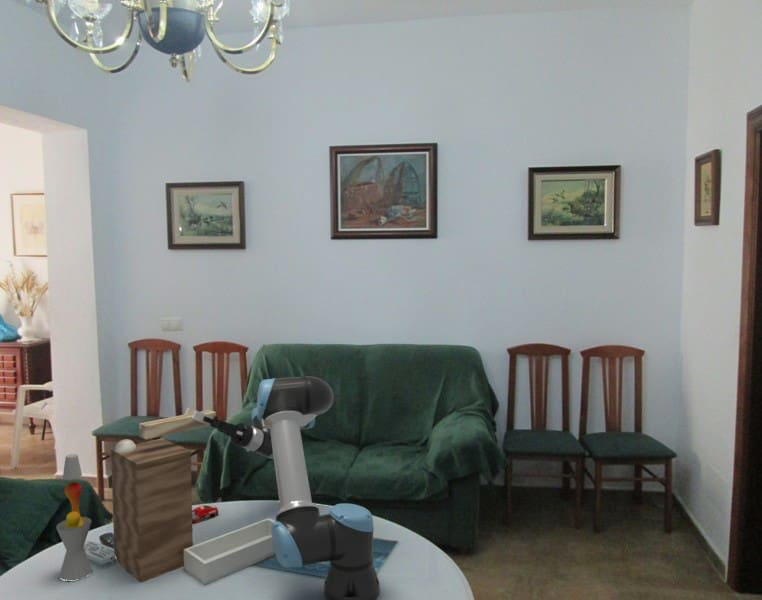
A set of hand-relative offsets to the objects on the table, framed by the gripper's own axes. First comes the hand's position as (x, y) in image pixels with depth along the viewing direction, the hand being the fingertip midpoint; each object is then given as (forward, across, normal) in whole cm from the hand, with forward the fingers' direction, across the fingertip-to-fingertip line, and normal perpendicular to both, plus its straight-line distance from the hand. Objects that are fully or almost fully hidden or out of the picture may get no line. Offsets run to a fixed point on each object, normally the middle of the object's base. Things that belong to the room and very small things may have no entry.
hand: (190, 413), depth 188 cm
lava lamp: (+6, +9, -53) cm, 54 cm away
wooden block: (-10, 0, -44) cm, 45 cm away
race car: (-32, +17, -31) cm, 48 cm away
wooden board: (+1, 0, -6) cm, 6 cm away
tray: (-27, -17, -34) cm, 46 cm away
